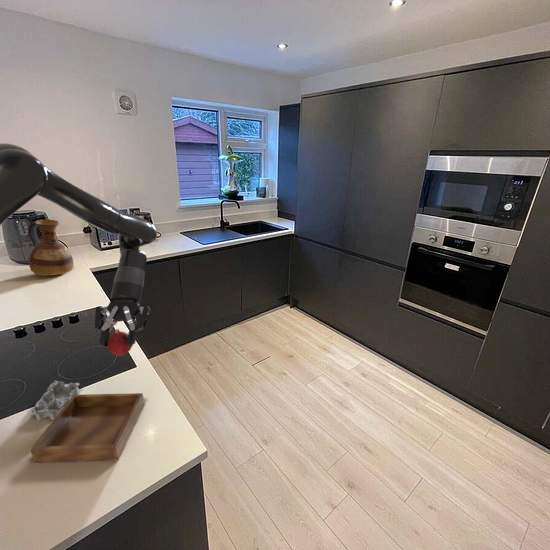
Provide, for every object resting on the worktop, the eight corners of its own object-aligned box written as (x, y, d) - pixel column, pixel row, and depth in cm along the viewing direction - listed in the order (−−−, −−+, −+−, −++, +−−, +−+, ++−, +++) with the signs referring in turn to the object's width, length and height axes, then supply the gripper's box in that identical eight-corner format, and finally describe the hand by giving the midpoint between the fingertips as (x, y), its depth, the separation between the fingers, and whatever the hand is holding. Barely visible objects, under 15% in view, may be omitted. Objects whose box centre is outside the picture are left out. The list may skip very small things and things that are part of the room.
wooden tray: (35, 463, 62) (29, 450, 61) (77, 405, 77) (73, 394, 75) (118, 460, 63) (115, 447, 62) (144, 404, 78) (142, 393, 76)
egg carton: (59, 389, 82) (55, 378, 80) (85, 390, 82) (82, 378, 80) (29, 421, 72) (24, 408, 70) (59, 421, 72) (54, 409, 70)
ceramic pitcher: (59, 280, 154) (44, 224, 143) (22, 279, 154) (4, 223, 143) (83, 267, 172) (71, 217, 161) (50, 266, 172) (35, 216, 161)
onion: (138, 353, 78) (134, 328, 75) (118, 365, 74) (112, 339, 71) (127, 346, 81) (121, 321, 78) (106, 356, 77) (100, 331, 74)
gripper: (95, 280, 77) (79, 344, 70) (150, 280, 78) (139, 343, 71) (108, 289, 84) (95, 348, 77) (158, 289, 85) (150, 348, 78)
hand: (117, 345), depth 74 cm, fingers closed on onion, 5 cm apart
